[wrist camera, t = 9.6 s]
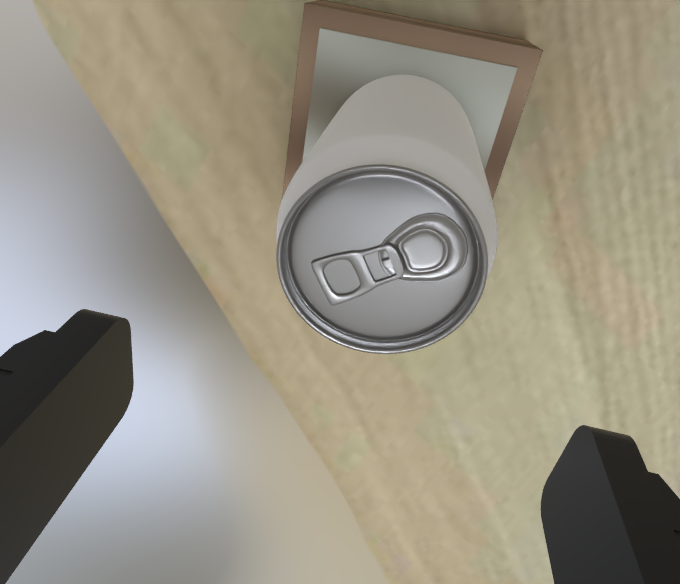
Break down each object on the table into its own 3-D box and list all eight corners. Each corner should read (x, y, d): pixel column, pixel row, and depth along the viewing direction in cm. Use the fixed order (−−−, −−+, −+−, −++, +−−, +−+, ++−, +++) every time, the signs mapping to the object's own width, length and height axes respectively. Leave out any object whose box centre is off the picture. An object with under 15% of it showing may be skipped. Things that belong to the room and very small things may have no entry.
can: (490, 187, 25) (534, 334, 14) (362, 231, 27) (320, 387, 16) (446, 46, 22) (461, 103, 12) (307, 107, 24) (216, 201, 14)
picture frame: (321, -1, 26) (303, 3, 22) (527, 40, 25) (543, 51, 22) (296, 194, 31) (278, 222, 27) (466, 230, 30) (471, 264, 27)
